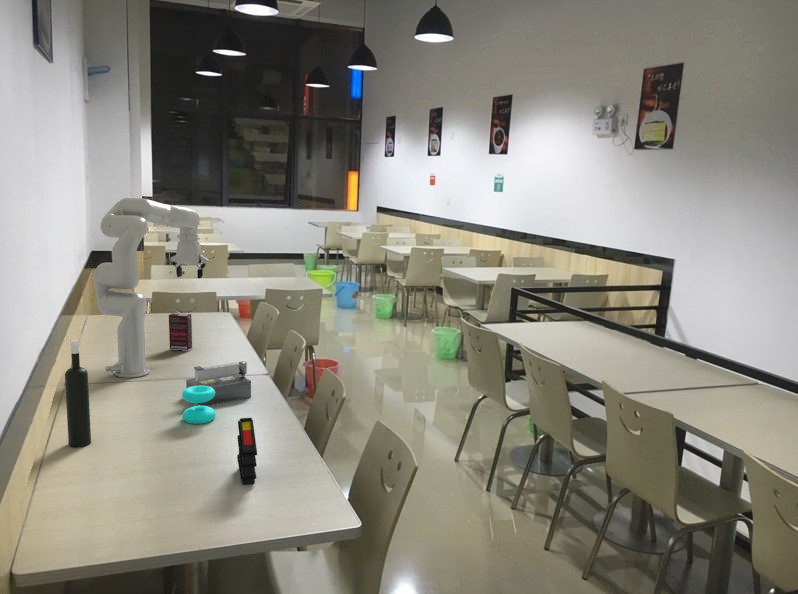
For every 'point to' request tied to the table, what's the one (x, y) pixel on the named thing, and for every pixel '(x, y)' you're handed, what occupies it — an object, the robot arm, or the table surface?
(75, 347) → the wine bottle
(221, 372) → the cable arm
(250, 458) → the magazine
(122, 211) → the robot arm
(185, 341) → the supplement box
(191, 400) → the donuts
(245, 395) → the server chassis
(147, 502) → the table surface
